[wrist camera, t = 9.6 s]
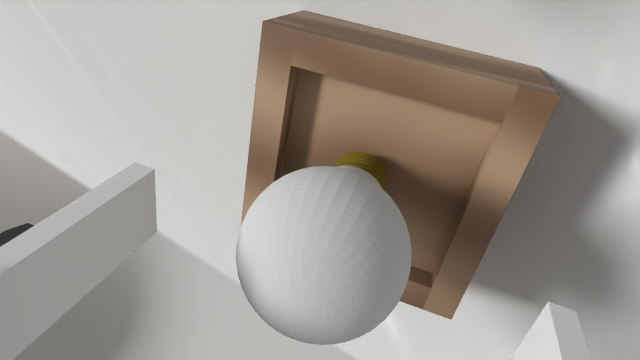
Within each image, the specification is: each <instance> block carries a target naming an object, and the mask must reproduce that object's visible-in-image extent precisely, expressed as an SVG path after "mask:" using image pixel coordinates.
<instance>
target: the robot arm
mask: <svg viewBox="0 0 640 360" xmlns="http://www.w3.org/2000/svg"><path fill="white" fill-rule="evenodd" d="M156 232H157V223H156V197H155V170H154V169H152V168H149V167H146V166H143V165H140V164H137V163H134V164H133V165H131V166H129V167H128V168H126V169H125V170H123V171H121V172H120V173H118V174H117V175H115V176H113V177H112V178H110V179H108V180H107V181H105V182H104V183H102V184H100V185H99V186H97V187H96V188H94V189H92V190H91V191H89V192H88V193H86V194H84V195H83V196H81V197H80V198H78V199H76V200H75V201H73V202H72V203H70V204H68V205H67V206H65V207H64V208H62V209H60V210H59V211H57V212H56V213H54V214H52V215H51V216H49V217H48V218H46V219H44V220H43V221H41V222H39V223H38V224H36V225H35V226H34V225H31V224H29V223H27V224H24V225H21V226H18V227H15V228H12V229H9V230H6V231H4V232H2V233H1V234H0V360H13V359H14V358H15V357H16V356H17V355H18V354H20V353H21V352H22V351H23V350H24V349H25V348H26V347H27V346H28V345H30V344H31V343H32V342H33V341H34V340H35V339H36V338H37V337H39V336H40V335H41V334H42V333H43V332H44V331H45V330H47V329H48V328H49V327H50V326H51V325H52V324H53V323H54V322H56V321H57V320H58V319H59V318H60V317H61V316H62V315H63V314H64V313H66V312H67V311H68V310H69V309H70V308H71V307H72V306H73V305H75V304H76V303H77V302H78V301H79V300H80V299H81V298H83V297H84V296H85V295H86V294H87V293H88V292H89V291H90V290H92V289H93V288H94V287H95V286H96V285H97V284H98V283H99V282H100V281H102V280H103V279H104V278H105V277H106V276H107V275H108V274H109V273H111V272H112V271H113V270H114V269H115V268H116V267H117V266H118V265H120V264H121V263H122V262H123V261H124V260H125V259H126V258H127V257H129V256H130V255H131V254H132V253H133V252H134V251H135V250H136V249H138V248H139V247H140V246H141V245H142V244H143V243H144V242H146V241H147V240H148V239H149V238H150V237H151V236H152V235H153V234H155V233H156ZM510 360H591V358H590V355H589V351H588V348H587V345H586V342H585V339H584V335H583V332H582V329H581V326H580V322H579V319H578V316H577V313H576V311H575V310H572V309H569V308H566V307H563V306H560V305H557V304H554V303H551V302H548V303H547V304H546V306H545V307H544V309H543V310H542V312H541V313H540V315H539V316H538V318H537V319H536V321H535V322H534V324H533V325H532V327H531V328H530V330H529V331H528V333H527V334H526V336H525V338H524V339H523V341H522V342H521V344H520V345H519V347H518V348H517V350H516V351H515V353H514V354H513V356H512V357H511V359H510Z"/></svg>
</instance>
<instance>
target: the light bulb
mask: <svg viewBox="0 0 640 360" xmlns="http://www.w3.org/2000/svg"><path fill="white" fill-rule="evenodd" d="M386 185H387V173H386V170H385V168H384V166H383V165H382V163H381V162H380V161H379V160H378V159H377V158H376V157H374V156H373V155H371V154H368V153H365V152H358V151H357V152H350V153H347V154H345V155H343V156H342V157H341V158H339V159H338V161H337V162H336V163H335V164H334V166H333V167H332V166H315V167H308V168H304V169H299V170H297V171H294V172H292V173H289V174H287V175H285V176H283V177H281V178H280V179H278V180H276V181H275V182H273V183H272V184H271V185H269V186H268V187H267V188H266V189H265V190H264V191H263V192H262V193H261V194H260V195H259V196H258V197H257V198H256V200H255V201H254V202H253V204H252V205H251V207H250V208H249V210H248V211H247V214H246V216H245V218H244V220H243V223H242V225H241V228H240V232H239V236H238V240H237V250H236V263H237V270H238V276H239V279H240V283H241V286H242V289H243V291H244V293H245V295H246V297H247V299H248V301H249V302H250V304H251V306H252V307H253V309H254V310H255V311H256V312H257V314H258V315H259V316H260V317H261V318H262V319H263V320H264V321H265V322H266V323H267V324H268V325H270V326H271V327H272V328H274V329H275V330H277V331H278V332H280V333H281V334H283V335H285V336H287V337H290V338H292V339H295V340H298V341H301V342H305V343H311V344H322V345H326V344H337V343H342V342H346V341H350V340H352V339H355V338H358V337H360V336H362V335H364V334H366V333H368V332H369V331H371V330H372V329H374V328H375V327H376V326H378V325H379V324H380V323H381V322H382V321H384V320H385V319H386V318H387V316H388V315H389V314H390V313H391V312H392V310H393V309H394V308H395V307H396V305H397V304H398V302H399V300H400V298H401V296H402V294H403V292H404V290H405V288H406V285H407V281H408V278H409V274H410V268H411V256H412V252H411V242H410V236H409V232H408V229H407V226H406V222H405V220H404V218H403V216H402V214H401V212H400V210H399V208H398V207H397V205H396V204H395V202H394V201H393V200H392V198H391V197H390V196H389V195H388V194H387V193H386V192H385V190H386Z"/></svg>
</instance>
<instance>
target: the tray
mask: <svg viewBox="0 0 640 360" xmlns="http://www.w3.org/2000/svg"><path fill="white" fill-rule="evenodd" d="M560 98H561V96H560V95H559V94H558V92H557V91H556V90H555V88H554V87H553V86H552V84H551V83H550V82H549V80H548V79H547V78H546V76H545V75H544V74H543V72H542V71H541V70H540V68H537V67H533V66H529V65H525V64H521V63H517V62H513V61H509V60H504V59H500V58H496V57H492V56H488V55H484V54H480V53H476V52H472V51H468V50H464V49H459V48H455V47H451V46H447V45H443V44H439V43H435V42H431V41H427V40H423V39H419V38H414V37H410V36H406V35H402V34H398V33H394V32H390V31H386V30H382V29H378V28H374V27H369V26H365V25H361V24H357V23H353V22H349V21H345V20H341V19H337V18H333V17H329V16H324V15H320V14H316V13H312V12H308V11H304V10H303V11H300V12H296V13H292V14H288V15H284V16H280V17H277V18H273V19H269V20H265V21H263V23H262V32H261V42H260V51H259V61H258V70H257V80H256V89H255V98H254V108H253V117H252V127H251V136H250V146H249V155H248V165H247V174H246V184H245V193H244V202H243V212H242V221H241V225H242V223H243V220H244V218H245V216H246V214H247V211H248V210H249V208H250V207H251V205H252V204H253V202H254V201H255V200H256V198H257V197H258V196H259V195H260V194H261V193H262V192H263V191H264V190H265V189H266V188H267V187H268V186H269V185H271V184H272V183H273V182H275V181H276V180H278V179H280V178H281V177H283V176H285V175H287V174H289V173H292V172H294V171H297V170H299V169H304V168H308V167H315V166H332V167H333V166H334V164H335V163H336V162H337V161H338V159H339V158H341V157H342V156H343V155H345V154H347V153H350V152H357V151H358V152H365V153H368V154H371V155H373V156H374V157H376V158H377V159H378V160H379V161H380V162H381V163H382V165H383V166H384V168H385V170H386V173H387V185H386V190H385V192H386V193H387V194H388V195H389V196H390V197H391V198H392V200H393V201H394V202H395V204H396V205H397V207H398V208H399V210H400V212H401V214H402V216H403V218H404V220H405V222H406V226H407V229H408V232H409V236H410V242H411V252H412V256H411V268H410V274H409V278H408V281H407V285H406V288H405V290H404V292H403V294H402V296H401V298H400V300H399V301H401V302H404V303H407V304H409V305H412V306H415V307H418V308H421V309H423V310H426V311H429V312H432V313H434V314H437V315H440V316H443V317H446V318H448V319H452V317H453V315H454V313H455V311H456V309H457V307H458V305H459V303H460V301H461V299H462V297H463V295H464V293H465V291H466V289H467V287H468V285H469V283H470V281H471V279H472V277H473V274H474V272H475V270H476V268H477V266H478V264H479V262H480V260H481V258H482V256H483V254H484V252H485V250H486V248H487V246H488V244H489V242H490V240H491V238H492V236H493V234H494V232H495V230H496V228H497V226H498V224H499V222H500V220H501V218H502V215H503V213H504V211H505V209H506V207H507V205H508V203H509V201H510V199H511V197H512V195H513V193H514V191H515V189H516V187H517V185H518V183H519V181H520V179H521V177H522V175H523V173H524V171H525V169H526V167H527V165H528V163H529V161H530V159H531V157H532V154H533V152H534V150H535V148H536V146H537V144H538V142H539V140H540V138H541V136H542V134H543V132H544V130H545V128H546V126H547V124H548V122H549V120H550V118H551V116H552V114H553V112H554V110H555V108H556V106H557V104H558V102H559V100H560Z"/></svg>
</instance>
